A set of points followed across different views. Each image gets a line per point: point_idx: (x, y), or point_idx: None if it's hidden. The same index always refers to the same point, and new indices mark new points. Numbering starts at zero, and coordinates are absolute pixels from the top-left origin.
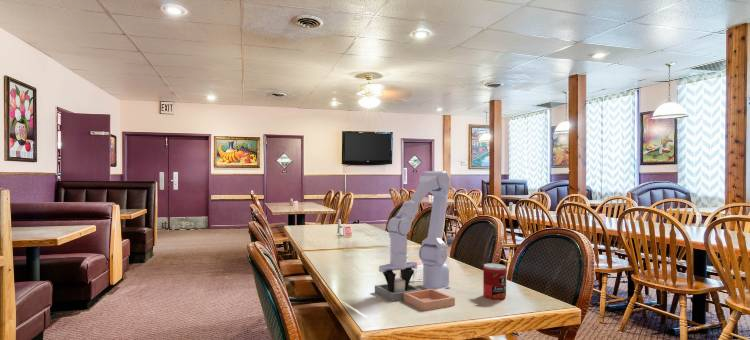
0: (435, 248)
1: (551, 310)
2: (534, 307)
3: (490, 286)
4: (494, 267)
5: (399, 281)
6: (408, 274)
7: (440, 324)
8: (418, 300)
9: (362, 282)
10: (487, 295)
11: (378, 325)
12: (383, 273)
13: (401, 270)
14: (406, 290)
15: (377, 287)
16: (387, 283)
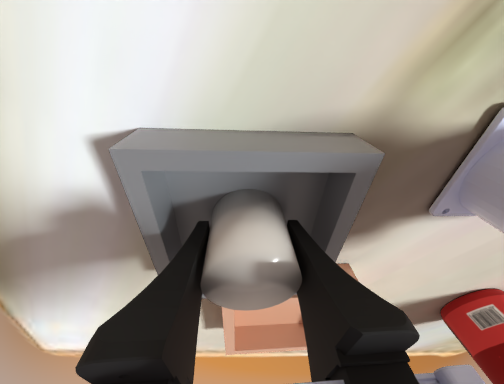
0: None
1: (427, 353)
2: (429, 344)
3: (471, 352)
4: None
5: (240, 303)
6: (308, 356)
7: (216, 354)
8: (225, 341)
9: None
10: (449, 315)
11: (85, 342)
12: (106, 331)
13: (340, 326)
14: (325, 194)
15: (126, 187)
16: (178, 254)
